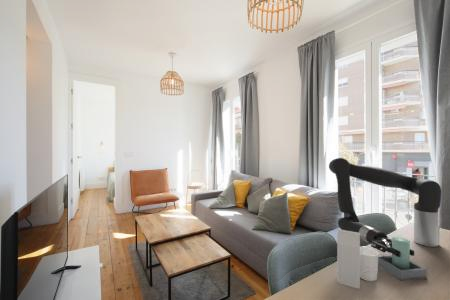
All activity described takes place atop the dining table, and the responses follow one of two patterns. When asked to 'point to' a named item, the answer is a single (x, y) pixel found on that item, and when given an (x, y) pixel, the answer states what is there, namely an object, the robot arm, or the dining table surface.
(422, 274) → the dish
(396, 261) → the mint green cylinder
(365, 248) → the white cup
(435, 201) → the robot arm
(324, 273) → the dining table surface
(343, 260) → the milk carton
